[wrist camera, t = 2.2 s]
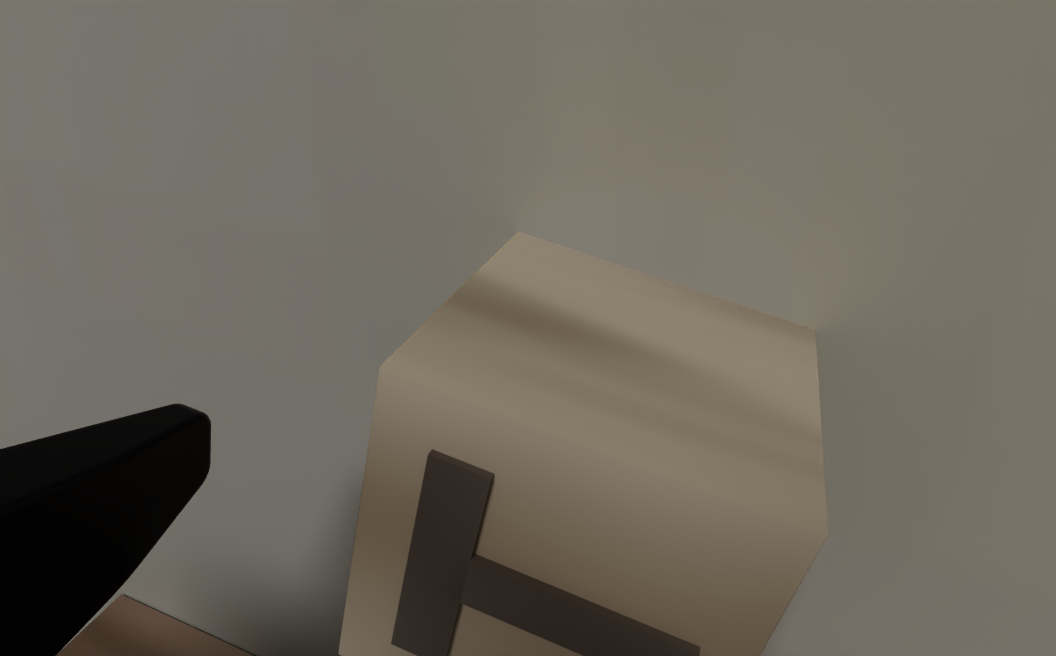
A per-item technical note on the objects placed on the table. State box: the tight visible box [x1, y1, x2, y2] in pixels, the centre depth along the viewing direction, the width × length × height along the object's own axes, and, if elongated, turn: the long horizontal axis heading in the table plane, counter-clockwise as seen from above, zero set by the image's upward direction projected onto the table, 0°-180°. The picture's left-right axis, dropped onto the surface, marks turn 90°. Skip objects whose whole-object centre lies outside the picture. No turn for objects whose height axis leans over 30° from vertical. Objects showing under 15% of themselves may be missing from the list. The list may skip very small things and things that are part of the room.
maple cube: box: [338, 232, 828, 656], centre depth 10 cm, size 4×4×5 cm
